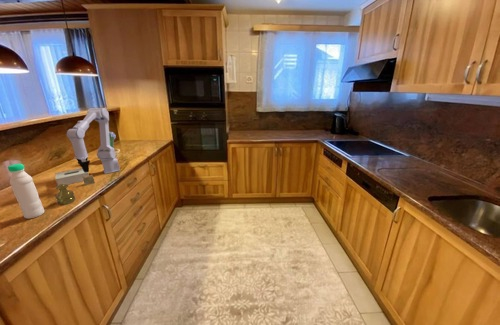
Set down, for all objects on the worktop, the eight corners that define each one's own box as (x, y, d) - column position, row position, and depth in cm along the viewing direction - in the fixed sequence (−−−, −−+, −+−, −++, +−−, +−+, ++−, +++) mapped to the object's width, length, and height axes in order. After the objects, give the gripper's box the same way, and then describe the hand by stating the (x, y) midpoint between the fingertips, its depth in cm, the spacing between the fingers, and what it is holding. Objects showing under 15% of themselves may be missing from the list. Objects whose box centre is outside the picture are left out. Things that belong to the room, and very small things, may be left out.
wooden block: (94, 182, 137) (92, 174, 135) (94, 183, 135) (92, 175, 133) (84, 184, 134) (82, 176, 132) (85, 185, 132) (82, 178, 130)
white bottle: (47, 213, 102) (29, 163, 94) (27, 221, 96) (5, 168, 88) (41, 209, 105) (23, 161, 97) (22, 216, 100) (0, 166, 91)
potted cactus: (111, 164, 170) (103, 132, 162) (96, 162, 174) (87, 132, 165) (126, 158, 184) (120, 129, 176) (112, 157, 188) (105, 128, 180)
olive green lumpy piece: (64, 198, 116) (59, 181, 112) (79, 198, 116) (73, 181, 113) (53, 205, 109) (47, 187, 106) (69, 205, 109) (63, 187, 106)
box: (87, 173, 150) (85, 167, 149) (90, 179, 140) (88, 172, 139) (57, 180, 140) (55, 173, 139) (58, 186, 131) (55, 179, 129)
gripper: (70, 148, 130) (76, 169, 134) (72, 152, 119) (78, 175, 124) (84, 145, 134) (90, 166, 138) (87, 150, 124) (93, 172, 128)
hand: (85, 170), depth 131 cm, fingers open, 7 cm apart
